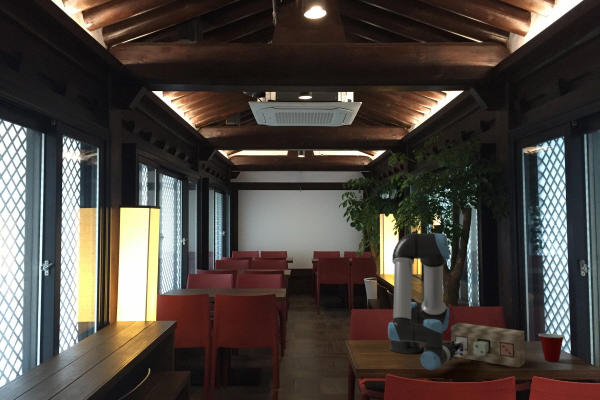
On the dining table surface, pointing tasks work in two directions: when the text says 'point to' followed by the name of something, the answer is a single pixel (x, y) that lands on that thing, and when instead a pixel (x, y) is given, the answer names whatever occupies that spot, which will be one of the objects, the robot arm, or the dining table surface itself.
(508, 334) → the console
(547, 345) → the plastic cup
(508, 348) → the button
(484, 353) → the button
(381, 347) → the dining table surface
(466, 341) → the button
